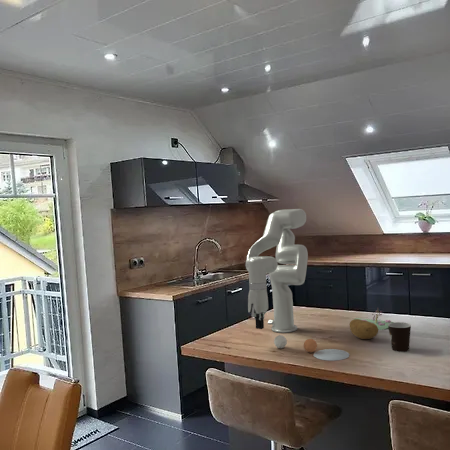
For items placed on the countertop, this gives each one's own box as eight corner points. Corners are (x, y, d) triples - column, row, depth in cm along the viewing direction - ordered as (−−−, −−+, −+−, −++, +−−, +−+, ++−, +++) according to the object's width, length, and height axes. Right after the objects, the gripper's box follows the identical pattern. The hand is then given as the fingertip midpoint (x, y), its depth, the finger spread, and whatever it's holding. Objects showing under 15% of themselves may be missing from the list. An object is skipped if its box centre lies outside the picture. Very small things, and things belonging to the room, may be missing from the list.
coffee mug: (409, 353, 186) (408, 328, 186) (387, 351, 190) (385, 326, 190) (415, 345, 196) (414, 321, 195) (393, 343, 200) (392, 319, 200)
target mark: (307, 357, 189) (307, 357, 189) (322, 347, 200) (322, 347, 200) (341, 362, 181) (341, 362, 181) (354, 352, 192) (354, 351, 192)
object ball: (301, 353, 195) (301, 340, 195) (307, 349, 200) (306, 336, 199) (313, 354, 192) (313, 341, 192) (319, 351, 197) (318, 338, 196)
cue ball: (272, 348, 204) (271, 336, 203) (278, 345, 208) (277, 333, 208) (283, 350, 200) (282, 337, 200) (289, 346, 205) (288, 334, 205)
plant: (337, 324, 239) (336, 306, 239) (364, 317, 251) (363, 300, 250) (378, 333, 219) (377, 314, 218) (406, 325, 230) (405, 306, 230)
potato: (369, 344, 202) (368, 325, 201) (344, 337, 214) (343, 319, 213) (385, 339, 207) (384, 321, 206) (360, 333, 219) (359, 316, 218)
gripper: (259, 283, 217) (261, 324, 217) (241, 288, 205) (243, 331, 205) (274, 284, 212) (275, 325, 212) (256, 289, 200) (258, 333, 200)
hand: (259, 328), depth 209 cm, fingers closed
